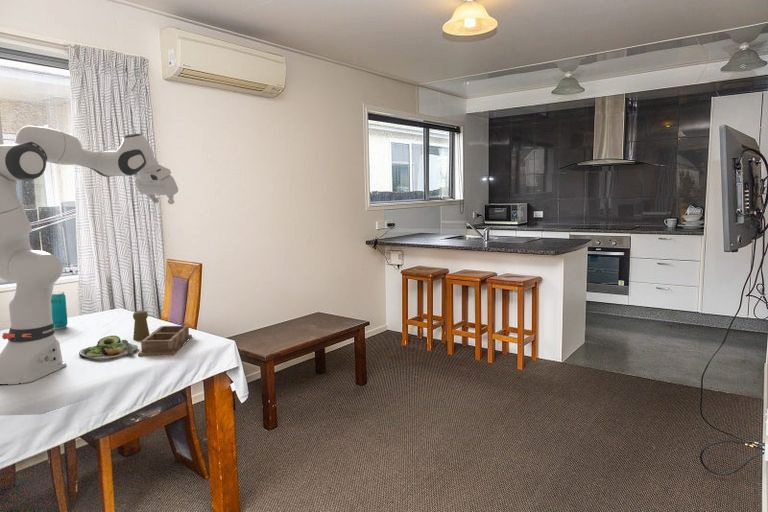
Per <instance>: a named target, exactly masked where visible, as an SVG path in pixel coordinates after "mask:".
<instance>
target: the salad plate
mask: <svg viewBox="0 0 768 512" xmlns="http://www.w3.org/2000/svg"><path fill="white" fill-rule="evenodd" d="M137 349H138V345H137V344H133V343H129V341H128V340H127V339H122V340H121V338H120V336H118V335H108V336H105V337H102V338H100V339H99V340H98V341H97V344H96V345H94V346H89V347H86V348H82V349H81V350H79V352H78V355H79V356H80V357H81V358H83V359H88V360H92V359H93V360H92V361H100V360H102V361H110V359H112V360H116V359H119V358H122V357H126V356H129V355H133V354H134V352H135V351H137ZM103 355H104V356H103ZM109 355H110V356H109Z"/></svg>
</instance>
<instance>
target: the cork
mask: <svg viewBox="0 0 768 512" xmlns="http://www.w3.org/2000/svg"><path fill="white" fill-rule="evenodd" d="M148 316H149V315H148V312H147V311H146V310H137V311H135V312H133V314H132V318H133V320H134V324H133V325H134V326H133V337H132V340H133V341H135V342H137V341H138V342H139V341H140V342H141V341H142V340H143V339H145V338H146V337H147V336H149V335H150V334H151V333H150V331H149V325H148V321H147V319H148Z"/></svg>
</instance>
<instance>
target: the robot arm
mask: <svg viewBox="0 0 768 512" xmlns="http://www.w3.org/2000/svg"><path fill="white" fill-rule="evenodd" d="M118 147H119V148H117V150H98V151H94V150H93V151H92V150H90V149H89V150H88V149H85V148H83V144H82V142H81V140H80V139H79V138H78V137H77V136H75V135H72V134H70V133H68V132H65V131H62V130H58V129H55V128H54V129H53V128H49V127H44V126H37V125H36V126H35V125H25V126H22V127H21V128H20V129H19V130H18V131H17V132H16V135H15V138H14V143H13V144H0V279H2V280H4V281H7V282H11V283H16V287H15V293H14V296H13V298H12V299H11V301H10V302H9V305H8V310H9V318H10V319H9V320H10V327H9V331H8V332H3V333H2V335H1V338H2V339H3V340H7V343H6V345H5V346H4V348H3V349H2V350H1V352H0V384H8V385H19V383H21V384H26V383H31V382H32V383H33V382H34V381H36V380H39V379H41V378H42V377H45V376H47V375H49V374H52V373H54V372H55V371H58V370H60V369H62V368H64V367H66V366H67V362H66V361H64V360H63V356H62V351H61V350H62V349H61V345H60V341H59V340H58V339H57V337H56V336H55V333H56V329H55V326H54V322H52V310H51V296H52V292H54V287H55V285H56V283H57V281H58V280H59V279H60V278H61V276H62V274H63V269H64V268H63V267H64V266H63V263H62V261H61V259H60V258H59V257H57V256H56V255H54V254H52V253H49V252H46V251H44V250H35V249H33V248H32V246H31V242H30V233H31V232H32V229H33V228H32V224H31V222H30V219H29V218H28V216H27V213H26V210H25V208H24V205H23V203H22V202H21V200H20V197H19V196H18V191H17V183H18V182H23V181H25V182H26V181H34V180H35V179H37V178H39V177H41V176H42V175H43V174H44V172H45V171H46V168H47V163H50V164H55V165H62V166H63V165H64V166H74V165H77V166H80V167H85V168H89V169H91V170H93V171H94V172H95V173H97V174H98V175H100V176H102V177H107V178H110V177H130V176H133V177H134V183H135V185H136V188H137V190H138V192H139V194H141V195H147V197H148V198H149V199H150V200H151V201H152V203H153V204H157V203H159V199H158V197H156V196H157V195H158V196H166V197H167V198H168V200H167V203H168V204H169V205H173V204H175V200H174V196H175V195H176V194H177V193H178V192H179V187H178V185H177V182H176V181H175V178H174V177H173V175H171V174H172V171H171V169H169V168H167V167H165V166H162V165H161V164H159V162H158V160H157V159H156V158H155V156H154V155H155V154H154V152H153V148H152V147H151V145H150V143H149V141H148V140H147V138H146V137H145V135H144V134H142V133H133V134H127V135H124V136H123V137H122V141H121V143H120V146H118ZM155 195H156V196H155Z"/></svg>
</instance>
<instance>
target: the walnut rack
mask: <svg viewBox="0 0 768 512" xmlns="http://www.w3.org/2000/svg"><path fill="white" fill-rule="evenodd" d="M189 327H190V326H189V325H160V326H159V327H158V328H157V329H156V330H154V331H153V332H151V333H149V334H150V335H149V336H147V337H146V338H145V339H143V340H142V341H140V345H141V350H140V351H139V352H138V353H137V356H138V357H154V356H155V357H156V356H157V357H159V356H161V357H162V355H172V356H175V355H176V354H177V352H179V351H180V349H181V348H182V347H183V346H184V345H185V344H186V343H187V342H188V341H189V340H190V338H191V337H193V335H192V334H190V331H189ZM188 339H189V340H188ZM187 340H188V341H187ZM186 341H187V342H186ZM185 342H186V343H185ZM184 343H185V344H184ZM183 344H184V345H183ZM182 345H183V346H182ZM181 346H182V347H181Z"/></svg>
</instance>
